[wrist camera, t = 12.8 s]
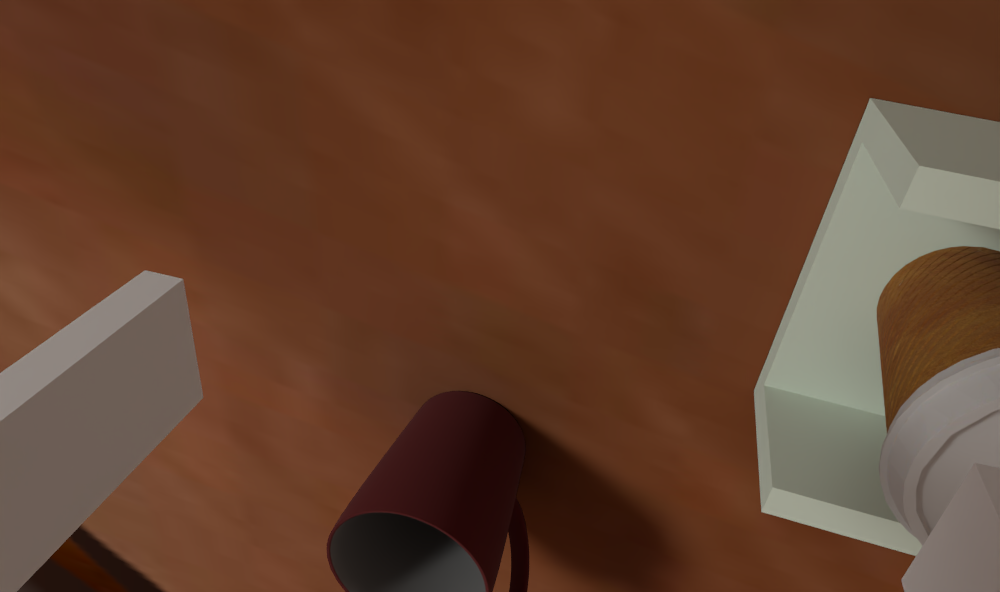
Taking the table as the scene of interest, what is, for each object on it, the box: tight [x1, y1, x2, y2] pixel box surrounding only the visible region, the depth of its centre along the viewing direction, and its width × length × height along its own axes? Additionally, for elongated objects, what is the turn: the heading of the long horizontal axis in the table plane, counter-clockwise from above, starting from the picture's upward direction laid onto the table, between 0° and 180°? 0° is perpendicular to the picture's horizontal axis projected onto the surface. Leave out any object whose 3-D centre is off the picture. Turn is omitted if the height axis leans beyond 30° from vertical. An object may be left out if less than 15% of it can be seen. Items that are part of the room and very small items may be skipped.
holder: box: [754, 98, 1000, 556], centre depth 30 cm, size 16×13×9 cm
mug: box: [327, 391, 529, 592], centre depth 41 cm, size 12×9×11 cm
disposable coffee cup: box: [877, 246, 1000, 546], centre depth 27 cm, size 10×10×12 cm
